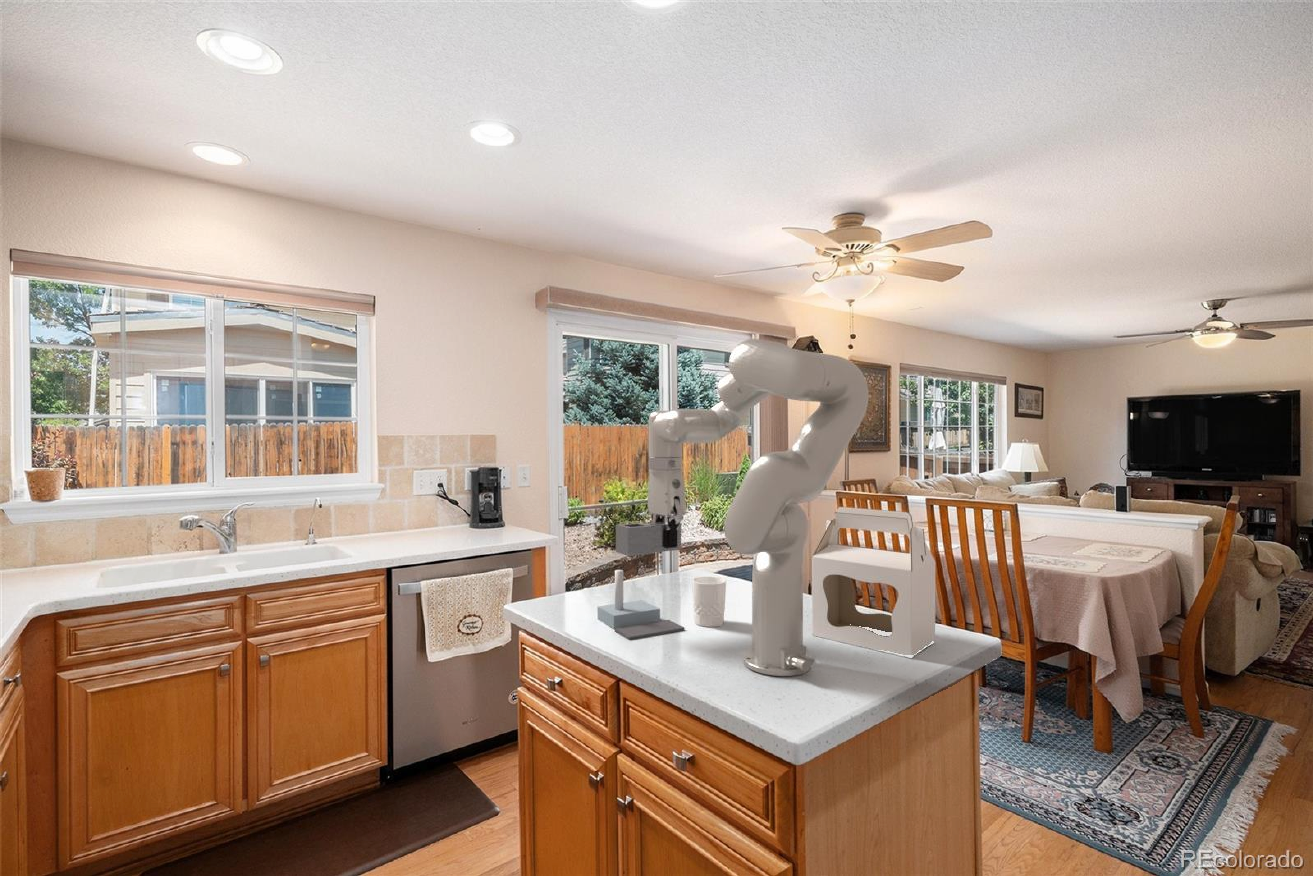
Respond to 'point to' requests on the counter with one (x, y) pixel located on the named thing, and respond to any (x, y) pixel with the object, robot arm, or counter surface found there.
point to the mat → (649, 629)
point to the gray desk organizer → (643, 538)
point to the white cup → (709, 601)
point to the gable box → (874, 566)
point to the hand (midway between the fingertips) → (665, 545)
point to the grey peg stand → (626, 609)
